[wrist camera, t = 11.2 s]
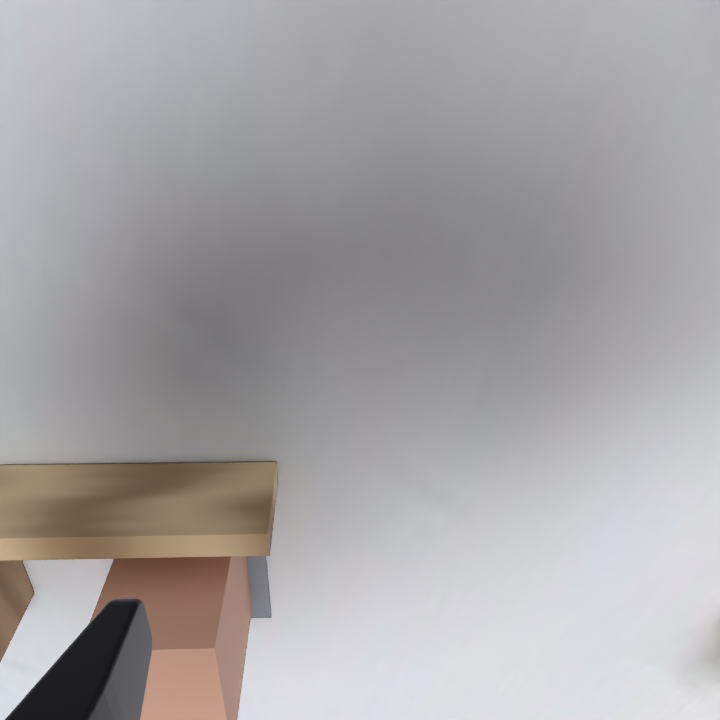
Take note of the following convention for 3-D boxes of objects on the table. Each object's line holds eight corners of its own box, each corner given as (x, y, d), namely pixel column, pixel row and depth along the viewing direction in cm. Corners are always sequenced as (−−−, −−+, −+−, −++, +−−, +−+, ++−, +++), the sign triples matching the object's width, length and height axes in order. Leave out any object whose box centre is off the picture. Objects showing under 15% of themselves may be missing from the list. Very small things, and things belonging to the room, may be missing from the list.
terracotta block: (252, 606, 27) (232, 753, 22) (158, 608, 27) (116, 757, 21) (240, 504, 24) (214, 648, 18) (134, 505, 23) (78, 651, 18)
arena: (276, 462, 23) (267, 533, 20) (287, 615, 27) (281, 692, 24) (-44, 465, 22) (-103, 540, 19) (21, 621, 27) (-18, 700, 24)
